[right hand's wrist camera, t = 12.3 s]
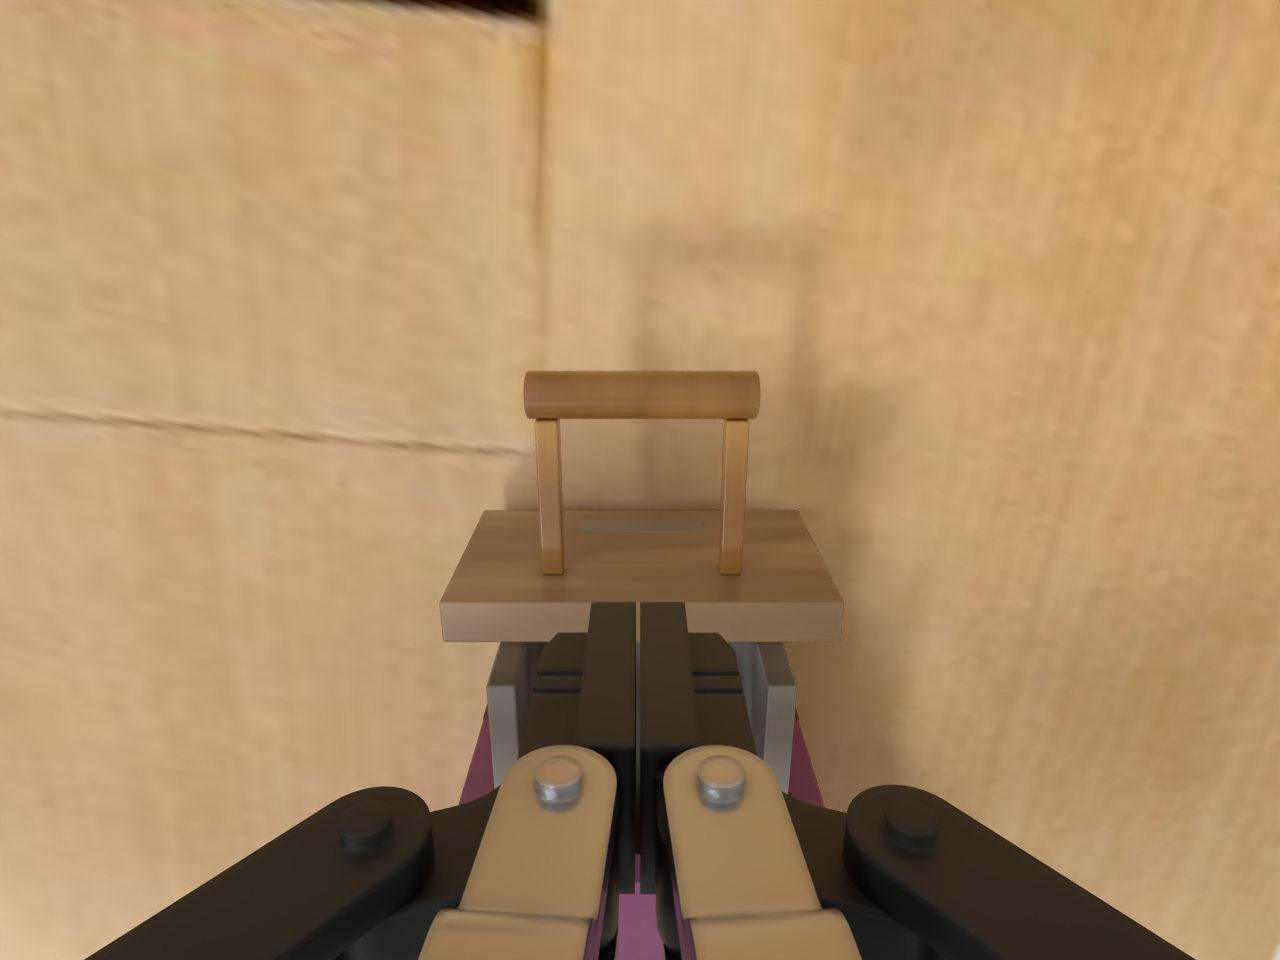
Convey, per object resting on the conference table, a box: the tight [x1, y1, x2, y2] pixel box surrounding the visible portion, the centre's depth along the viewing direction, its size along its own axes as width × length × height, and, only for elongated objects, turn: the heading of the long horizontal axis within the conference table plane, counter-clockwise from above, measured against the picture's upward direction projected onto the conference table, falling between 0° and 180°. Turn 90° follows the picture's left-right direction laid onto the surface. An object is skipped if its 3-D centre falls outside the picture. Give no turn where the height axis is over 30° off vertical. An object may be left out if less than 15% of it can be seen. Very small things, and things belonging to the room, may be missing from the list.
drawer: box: [440, 371, 844, 854], centre depth 26 cm, size 25×10×6 cm, turn 0°
